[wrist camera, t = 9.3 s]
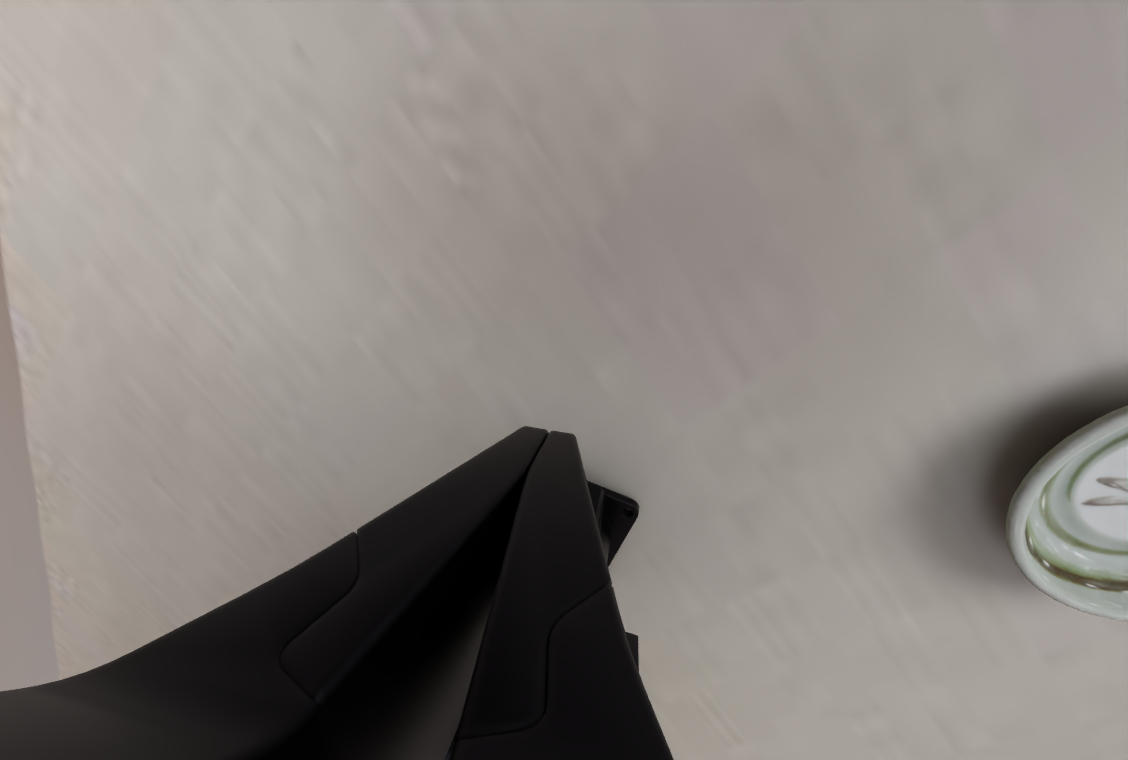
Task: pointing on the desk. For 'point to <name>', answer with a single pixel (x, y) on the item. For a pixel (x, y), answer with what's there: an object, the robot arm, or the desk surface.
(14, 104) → the desk surface
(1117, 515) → the saucer
